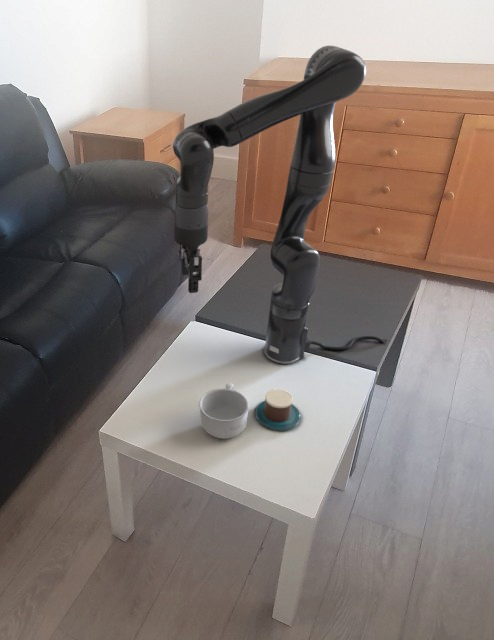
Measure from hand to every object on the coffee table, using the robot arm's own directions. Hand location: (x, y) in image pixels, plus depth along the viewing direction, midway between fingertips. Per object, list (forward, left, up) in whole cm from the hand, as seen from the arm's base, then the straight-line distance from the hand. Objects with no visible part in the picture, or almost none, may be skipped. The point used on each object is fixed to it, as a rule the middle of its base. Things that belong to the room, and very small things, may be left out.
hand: (189, 282), depth 142 cm
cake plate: (-18, +21, -26) cm, 38 cm away
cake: (-17, +21, -25) cm, 37 cm away
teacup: (-5, +22, -26) cm, 35 cm away
